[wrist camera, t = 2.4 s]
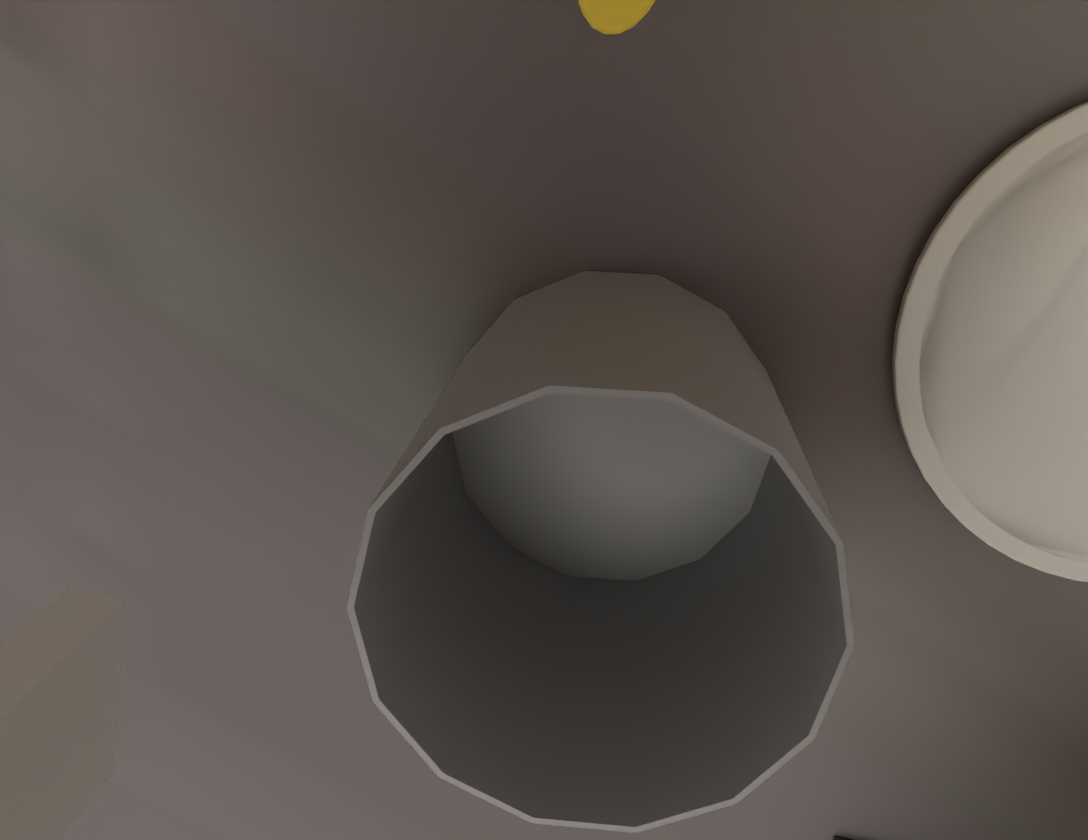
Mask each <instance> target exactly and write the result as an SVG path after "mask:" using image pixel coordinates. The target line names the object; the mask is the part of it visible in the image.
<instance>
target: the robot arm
mask: <svg viewBox="0 0 1088 840" xmlns="http://www.w3.org/2000/svg"><path fill="white" fill-rule="evenodd" d="M123 611H124V600H122V599H117V598H113V597H108V596H103V595H99V594H94V593H89V592H85V591H80V590H76V589H71V588H68V589H67V590H66V591H65V592H63V593H62V594H61V595H60V596H59V597H58V598H56V599H55V600H54V601H53V602H52V603H50V604H49V605H48V606H47V607H46V608H45V609H43V610H42V611H41V612H40V613H39V614H38V615H36V616H35V617H34V618H33V619H32V620H30V621H29V622H28V623H27V624H26V625H25V626H23V627H22V628H21V629H20V630H19V631H17V632H16V633H15V634H14V635H13V636H12V637H10V638H9V639H8V640H7V641H6V642H5V643H3V644H2V645H1V646H0V840H59V839H60V838H61V837H62V835H63V834H64V833H65V832H66V830H67V829H68V828H69V827H70V825H71V824H72V823H73V821H74V820H75V819H76V818H77V816H78V815H79V814H80V813H81V811H82V810H83V809H84V808H85V806H86V805H87V804H88V802H89V801H90V800H91V799H92V797H93V796H94V795H95V794H96V792H97V791H98V790H99V789H100V787H101V786H102V785H103V783H104V782H105V781H106V780H107V778H108V777H109V776H110V775H111V773H112V772H113V771H114V766H115V749H116V732H117V715H118V697H119V680H120V663H121V646H122V628H123Z"/></svg>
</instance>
